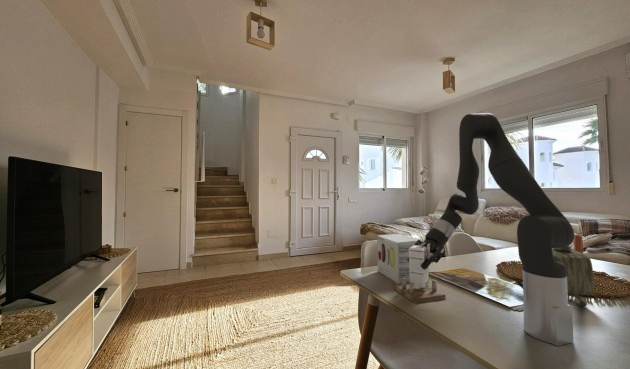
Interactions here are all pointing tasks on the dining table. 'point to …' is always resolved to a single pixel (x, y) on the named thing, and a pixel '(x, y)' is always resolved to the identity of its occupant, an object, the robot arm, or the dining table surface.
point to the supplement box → (394, 256)
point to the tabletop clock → (576, 271)
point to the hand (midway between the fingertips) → (415, 264)
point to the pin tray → (420, 292)
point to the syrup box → (418, 266)
